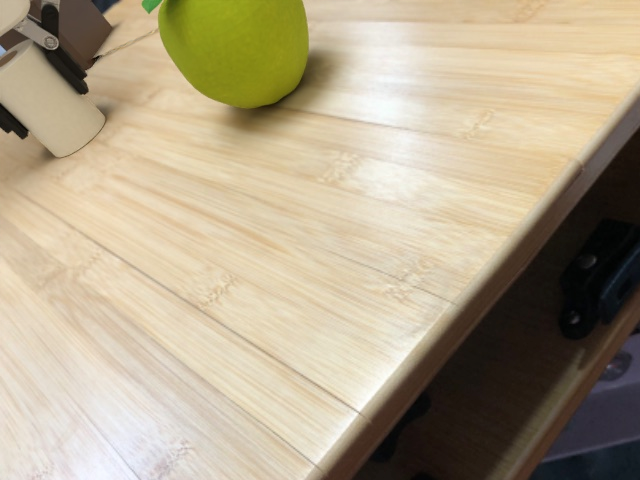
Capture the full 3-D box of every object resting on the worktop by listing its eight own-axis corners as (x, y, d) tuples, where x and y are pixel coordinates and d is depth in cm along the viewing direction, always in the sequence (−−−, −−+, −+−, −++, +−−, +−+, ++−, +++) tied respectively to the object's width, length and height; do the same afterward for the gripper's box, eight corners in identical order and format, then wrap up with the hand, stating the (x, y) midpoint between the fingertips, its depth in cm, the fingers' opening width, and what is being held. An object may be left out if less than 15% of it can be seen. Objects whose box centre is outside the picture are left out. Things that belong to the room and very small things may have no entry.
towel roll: (45, 164, 56) (-36, 90, 51) (71, 126, 60) (-2, 53, 54) (90, 146, 54) (11, 67, 49) (114, 108, 58) (43, 29, 52)
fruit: (203, 146, 44) (97, 18, 38) (256, 65, 49) (171, -61, 42) (306, 125, 40) (206, -25, 33) (353, 38, 45) (275, -109, 38)
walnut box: (41, 91, 72) (-20, 28, 67) (70, 53, 77) (15, -8, 72) (91, 67, 69) (32, 0, 64) (118, 30, 74) (65, -36, 69)
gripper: (-48, -176, 46) (129, 43, 58) (-248, -38, 45) (-24, 154, 57) (-56, -179, 40) (141, 63, 53) (-284, -21, 39) (-28, 187, 52)
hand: (53, 109), depth 55 cm, fingers closed on towel roll, 5 cm apart
